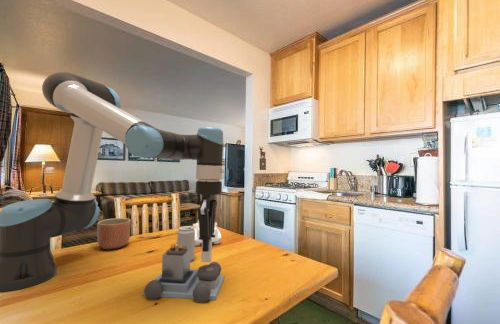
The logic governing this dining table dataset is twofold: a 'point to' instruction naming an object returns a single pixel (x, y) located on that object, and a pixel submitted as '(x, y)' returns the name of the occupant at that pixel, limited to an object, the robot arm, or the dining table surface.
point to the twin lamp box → (176, 264)
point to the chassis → (186, 287)
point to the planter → (113, 233)
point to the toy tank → (214, 240)
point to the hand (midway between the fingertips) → (206, 260)
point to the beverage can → (187, 239)
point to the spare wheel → (208, 272)
